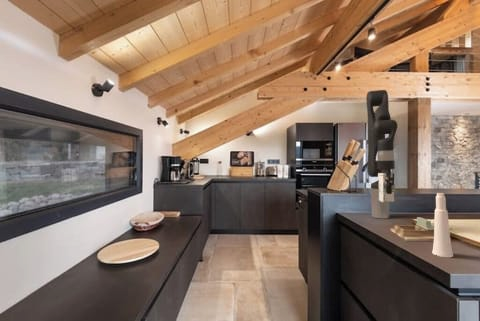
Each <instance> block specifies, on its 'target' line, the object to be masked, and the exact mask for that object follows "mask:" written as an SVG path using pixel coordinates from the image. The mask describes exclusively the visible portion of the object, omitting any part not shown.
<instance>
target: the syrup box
mask: <svg viewBox="0 0 480 321" xmlns="http://www.w3.org/2000/svg"><path fill="white" fill-rule="evenodd" d="M385 179H386V180H388V178H387V177H386V174H383V173H378V177H377V181H378V189H379V201H381V202H389V203H395V202H396V181H395V180H396V175H395V173H394V185H392V194H387V193H386V182H385Z"/></svg>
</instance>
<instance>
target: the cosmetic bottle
mask: <svg viewBox="0 0 480 321" xmlns="http://www.w3.org/2000/svg"><path fill="white" fill-rule="evenodd" d="M446 201H447V200H446V196H445V193H441V192H437V193H436V196H435V209H434V218H433V219H434V222H433V223H434V241H433V245H432V246H433V247H432V251H431V253H432V254H433V255H435V256H436V255H437V257H440V258H452V257H454V252H453V248H452V243H451V242H452V240H451V241H450V239H451V234H450V233H451V232H450V230H449V227H450V223H449V212H448V210H447V203H446Z"/></svg>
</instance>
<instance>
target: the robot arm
mask: <svg viewBox="0 0 480 321" xmlns="http://www.w3.org/2000/svg"><path fill="white" fill-rule="evenodd" d="M365 99H366V100H365V101H366V112H367V148H368V150H367V165H366V168H367V169H366V172H367V175H368V177H370V178H378V173H383V174H386V177H387V178H388V180H386V179H385V182H386V193H387V194H392V185H394V174H395V173H393V172H392V170H395V167H396V166H395V165H396V164H395V162H396V161H395V160H396V159H395V152H394V151H395V149H394V145H395V144H394V143H395V142H394V141H395V136H396V132H397V131H398V130H397V129H398V122H397V121H396V120H394V119H392V118H391V113H390V110H389V107H390V106H389V104H390V103H389V94H388V91H387V90H385V89H379V90H378V89H377V90H371V91H370V90H369V91H367V93H366V98H365ZM374 107H377V108H376V109H375V110H374ZM386 135H388V136H387V137H386ZM370 194H371V196H370V198H371V200H370V201H371V217H372V218H376V219H389V218H390V202H381V201H379V189H378V180H376V181H374V182H372V183H371V184H370Z"/></svg>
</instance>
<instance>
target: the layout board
mask: <svg viewBox="0 0 480 321" xmlns="http://www.w3.org/2000/svg"><path fill="white" fill-rule="evenodd" d="M389 230H390V231H391V232H392V233H394V234H395V235H397V236H399V237H400V238H402V239H403V240H404V241H406V242H434V230H426V229H424V228H422V227H420V226H418V225H416V224H415V225H411V224H409V225H408V224H407V225H405V224H402V225H401V224H399V225H398V224H394V226H393V227H390V228H389ZM450 241H451V242H452V239H451V238H450Z"/></svg>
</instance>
